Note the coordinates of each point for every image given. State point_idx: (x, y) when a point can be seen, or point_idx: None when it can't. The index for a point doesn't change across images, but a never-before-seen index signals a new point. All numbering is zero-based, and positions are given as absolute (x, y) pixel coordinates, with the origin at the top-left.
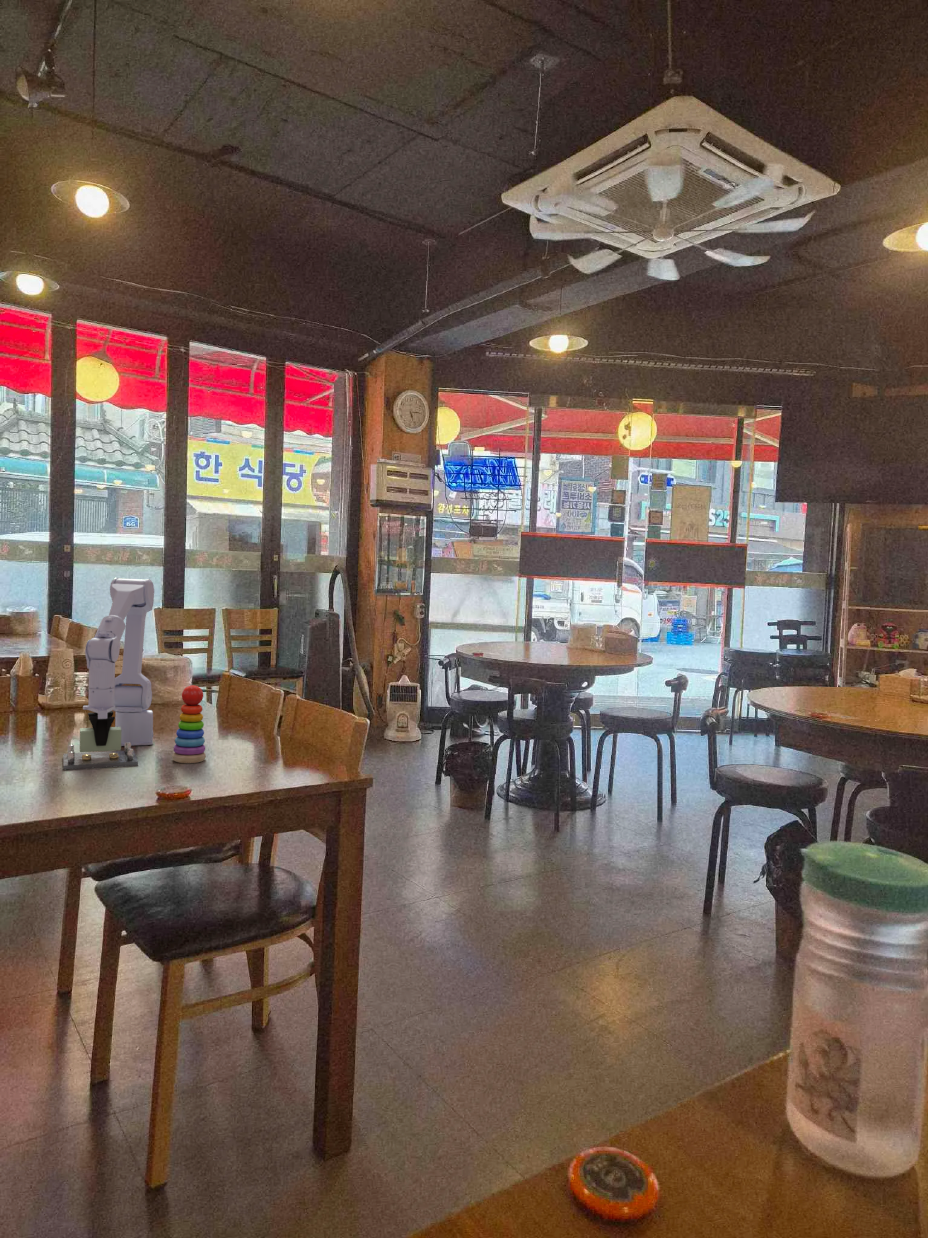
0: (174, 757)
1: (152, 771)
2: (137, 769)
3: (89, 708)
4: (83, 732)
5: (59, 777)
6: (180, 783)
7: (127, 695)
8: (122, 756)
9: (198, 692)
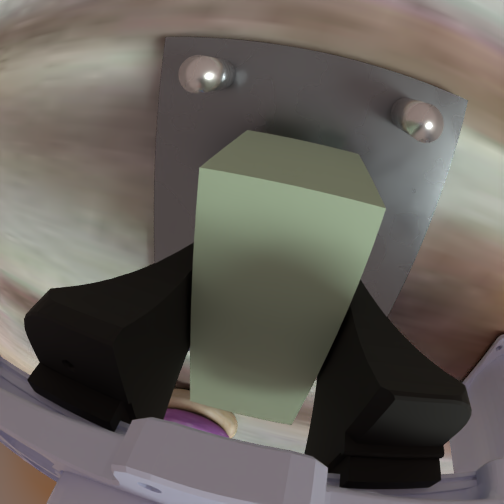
0: (174, 396)
1: None
2: None
3: (89, 455)
4: (203, 193)
5: (69, 32)
6: (7, 304)
7: None
8: None
9: None
